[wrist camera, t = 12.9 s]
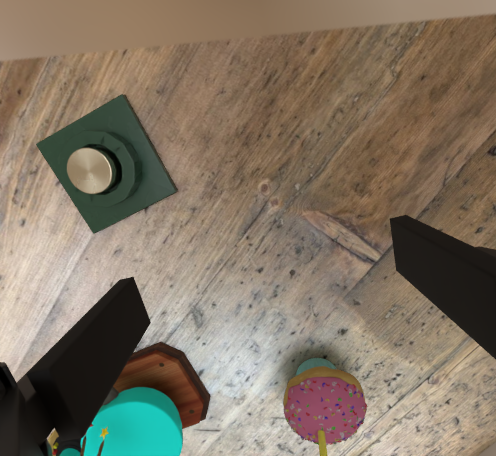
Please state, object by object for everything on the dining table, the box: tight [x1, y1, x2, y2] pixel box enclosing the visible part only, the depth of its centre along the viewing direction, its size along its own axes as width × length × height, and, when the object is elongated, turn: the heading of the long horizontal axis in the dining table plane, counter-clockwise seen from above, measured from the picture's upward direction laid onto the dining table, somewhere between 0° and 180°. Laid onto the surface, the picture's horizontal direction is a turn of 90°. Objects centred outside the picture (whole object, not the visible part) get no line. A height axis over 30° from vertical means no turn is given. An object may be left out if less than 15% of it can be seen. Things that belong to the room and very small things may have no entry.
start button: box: [67, 147, 120, 194], centre depth 27 cm, size 4×4×2 cm
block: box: [36, 94, 178, 233], centre depth 29 cm, size 10×10×2 cm
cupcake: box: [283, 358, 367, 456], centre depth 30 cm, size 9×8×12 cm
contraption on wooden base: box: [48, 342, 210, 456], centre depth 30 cm, size 14×18×15 cm
